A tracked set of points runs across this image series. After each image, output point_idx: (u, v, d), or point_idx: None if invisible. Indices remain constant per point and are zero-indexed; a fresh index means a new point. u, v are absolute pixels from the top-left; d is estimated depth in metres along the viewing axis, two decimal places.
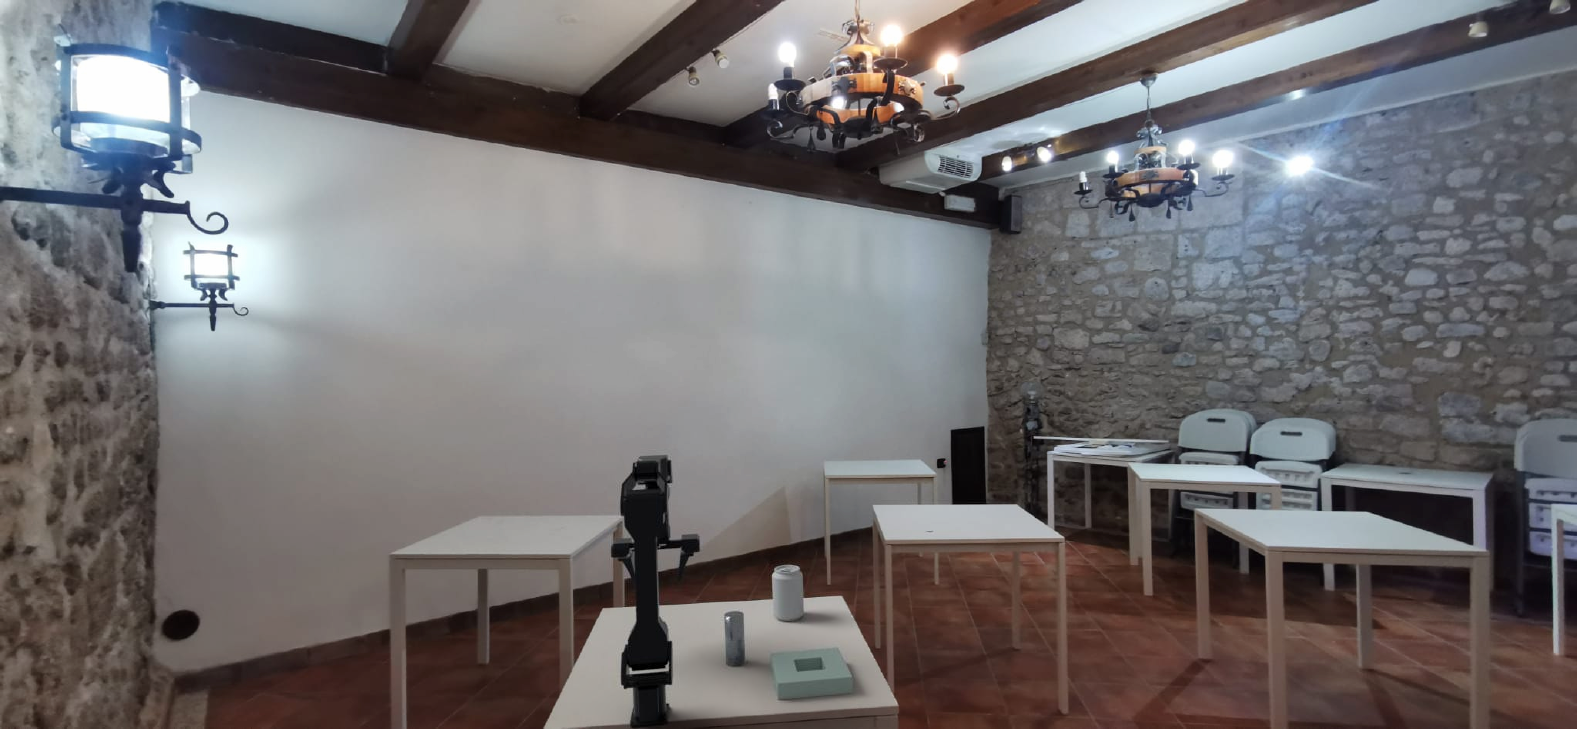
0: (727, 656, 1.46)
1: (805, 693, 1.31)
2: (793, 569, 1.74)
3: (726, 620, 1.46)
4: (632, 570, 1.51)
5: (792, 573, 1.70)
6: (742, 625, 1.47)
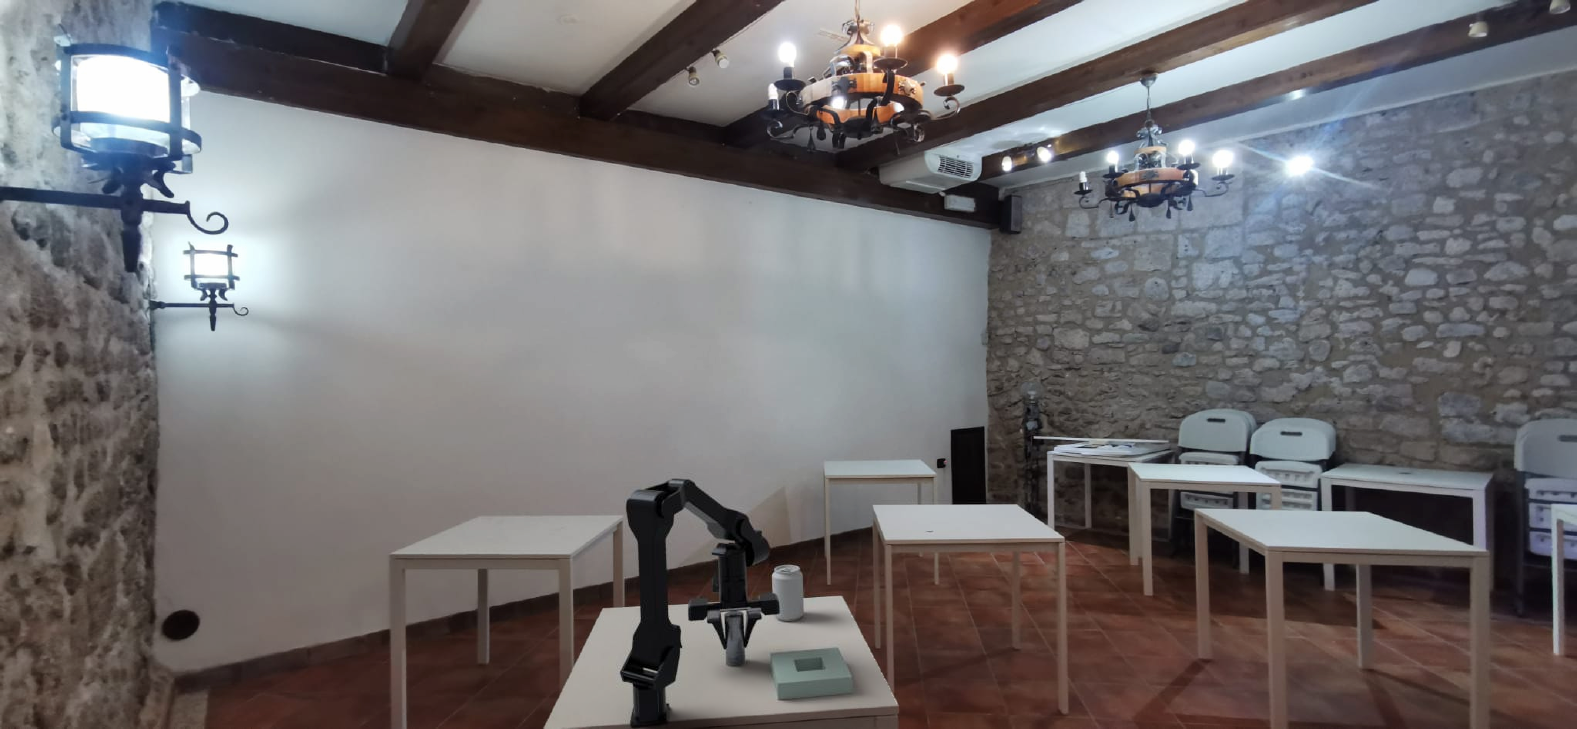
0: (727, 656, 1.46)
1: (805, 693, 1.31)
2: (793, 569, 1.74)
3: (726, 620, 1.46)
4: (722, 632, 1.45)
5: (792, 573, 1.70)
6: (742, 625, 1.47)
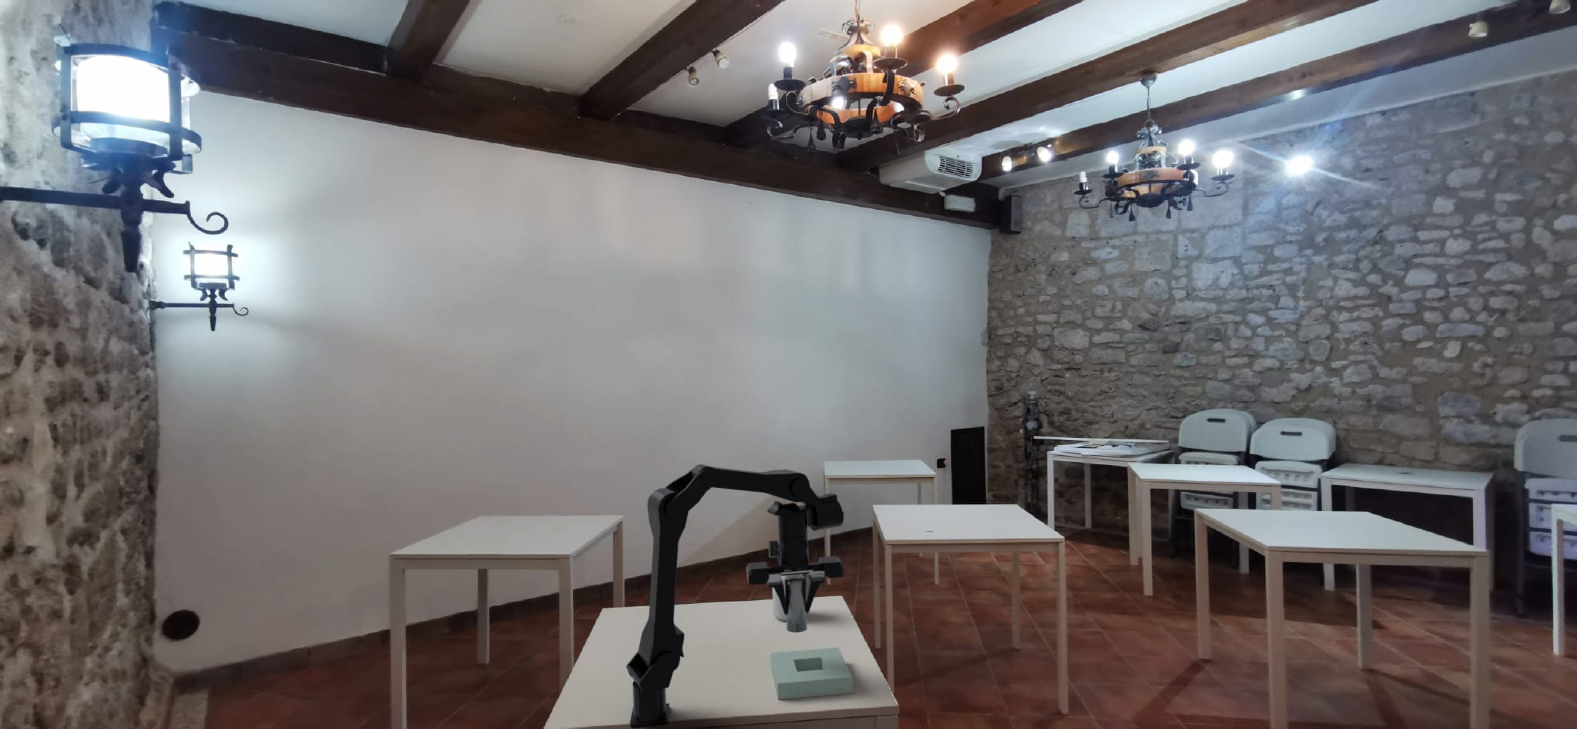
0: (789, 622, 1.39)
1: (805, 693, 1.31)
2: None
3: (787, 584, 1.39)
4: (783, 597, 1.38)
5: None
6: (804, 589, 1.39)
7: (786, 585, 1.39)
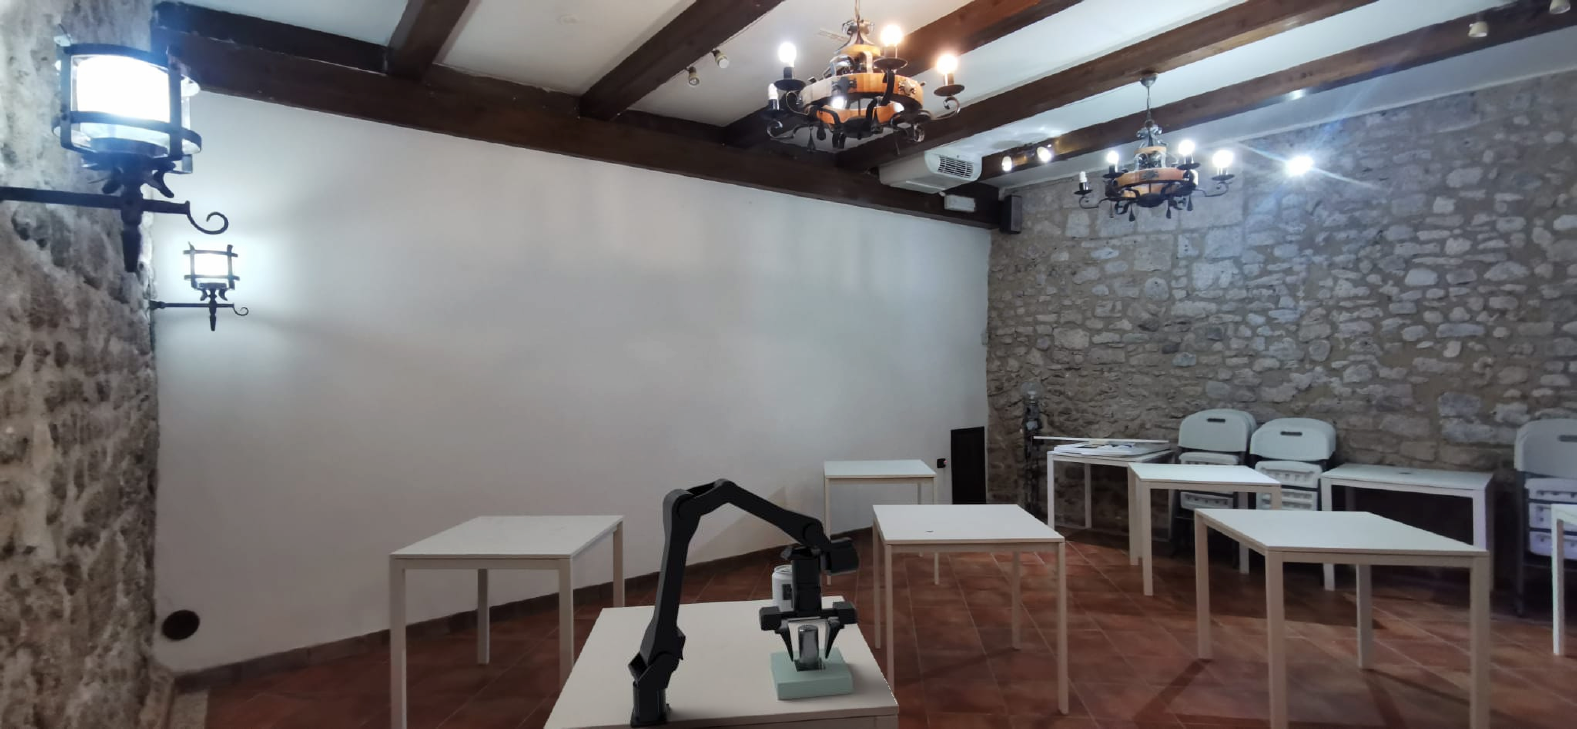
0: None
1: (805, 693, 1.31)
2: None
3: (800, 635, 1.37)
4: (790, 643, 1.36)
5: None
6: (817, 640, 1.38)
7: (799, 636, 1.37)
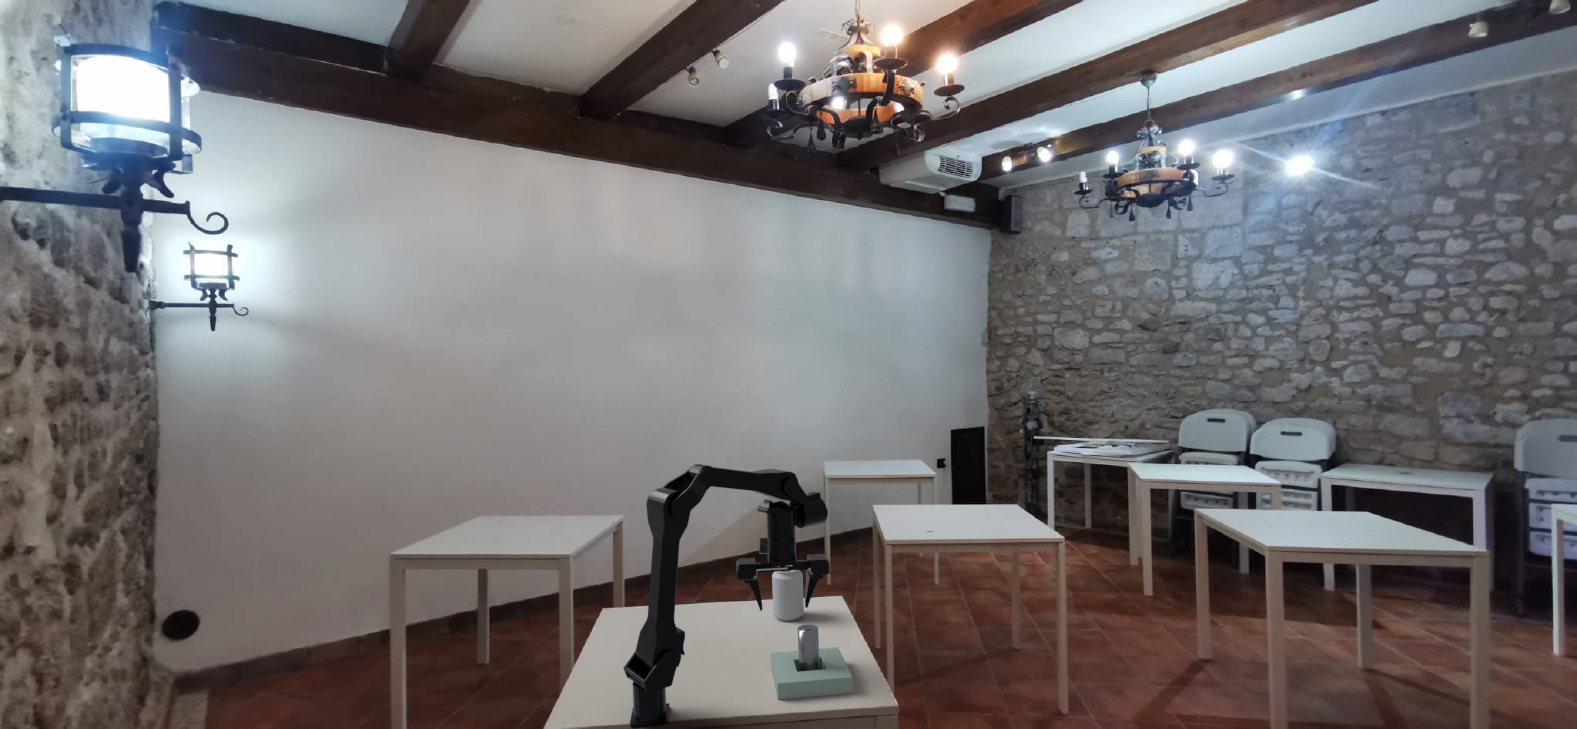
0: None
1: (805, 693, 1.31)
2: None
3: (800, 635, 1.37)
4: (758, 593, 1.42)
5: (792, 573, 1.70)
6: (817, 640, 1.38)
7: (799, 636, 1.37)
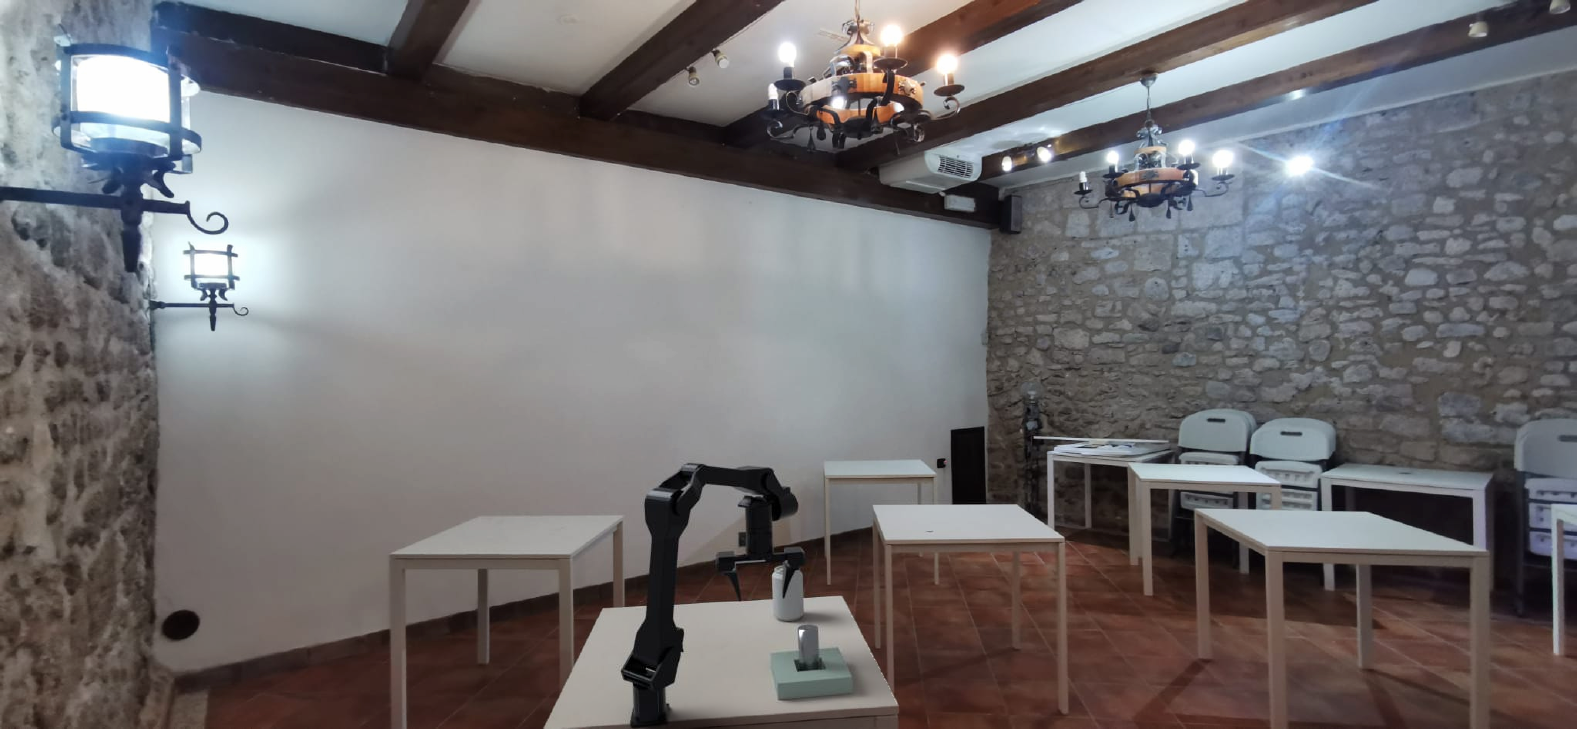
0: None
1: (805, 693, 1.31)
2: None
3: (800, 634, 1.37)
4: (737, 584, 1.48)
5: None
6: (817, 640, 1.38)
7: (799, 635, 1.38)
